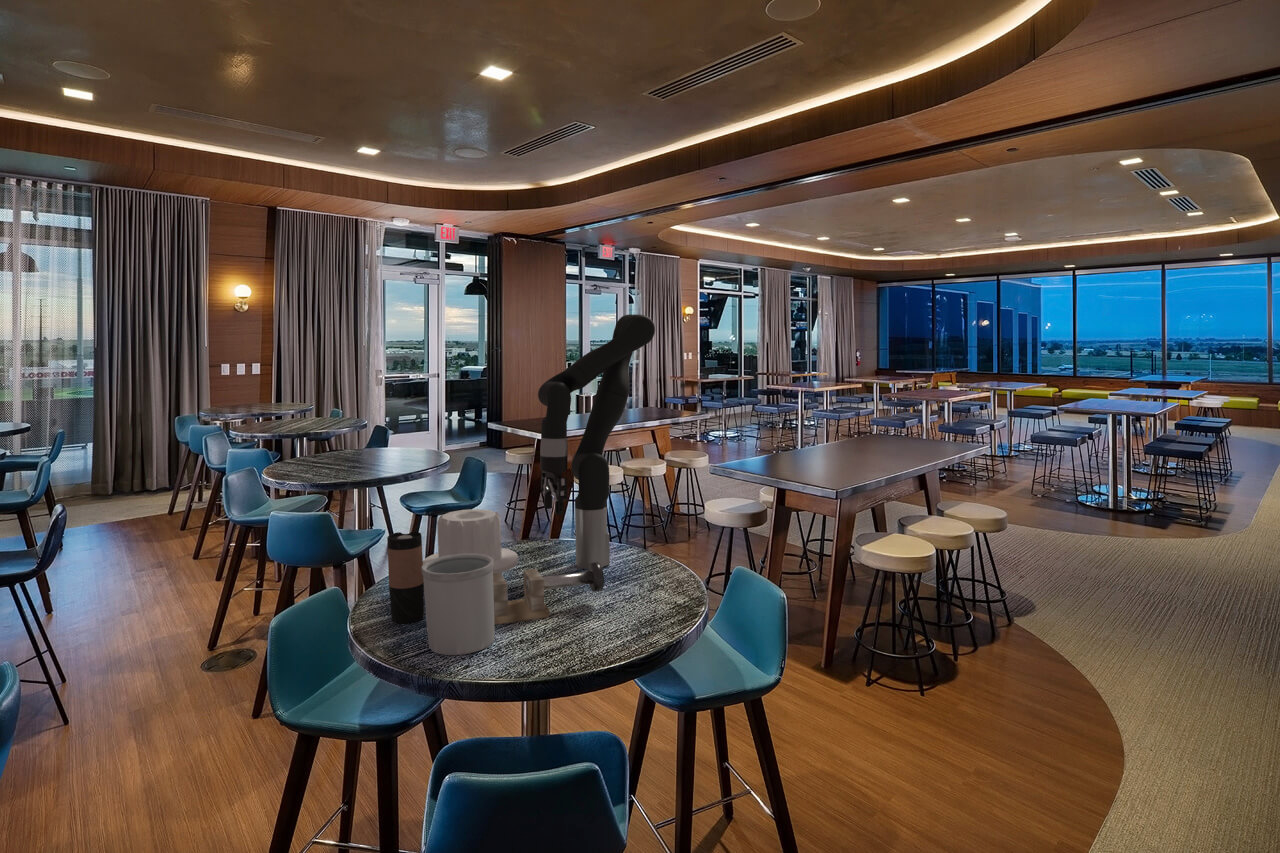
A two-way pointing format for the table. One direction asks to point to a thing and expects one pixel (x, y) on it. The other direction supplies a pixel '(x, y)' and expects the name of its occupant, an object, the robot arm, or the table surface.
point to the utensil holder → (459, 603)
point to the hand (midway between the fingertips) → (553, 511)
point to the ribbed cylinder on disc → (473, 537)
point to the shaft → (576, 579)
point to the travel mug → (406, 577)
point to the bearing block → (520, 608)
